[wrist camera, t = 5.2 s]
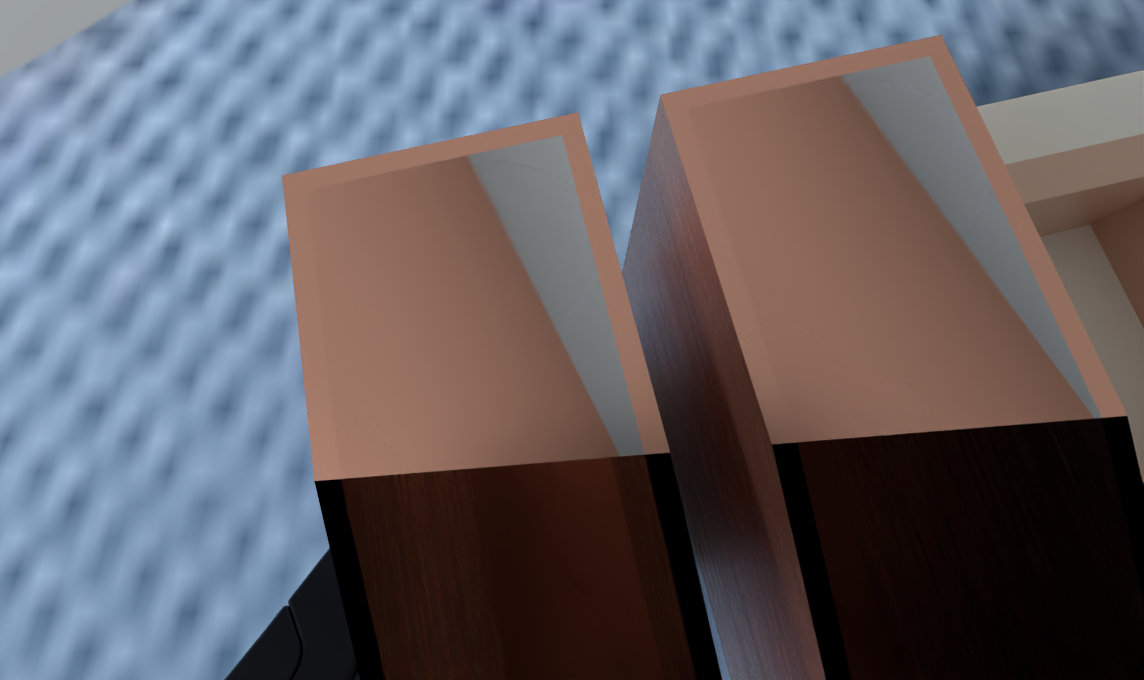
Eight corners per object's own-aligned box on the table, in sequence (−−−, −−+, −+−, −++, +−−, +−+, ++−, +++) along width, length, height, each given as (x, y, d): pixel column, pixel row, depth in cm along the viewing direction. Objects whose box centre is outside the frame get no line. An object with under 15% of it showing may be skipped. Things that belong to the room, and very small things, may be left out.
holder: (1396, 597, 13) (1817, 668, 9) (894, 729, 13) (1066, 876, 8) (1112, 95, 17) (1305, -39, 13) (713, 183, 17) (763, 77, 12)
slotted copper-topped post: (679, 543, 14) (1544, 1270, 1) (568, 570, 14) (434, 1622, 1) (638, 387, 15) (929, 11, 2) (534, 411, 15) (279, 147, 2)
